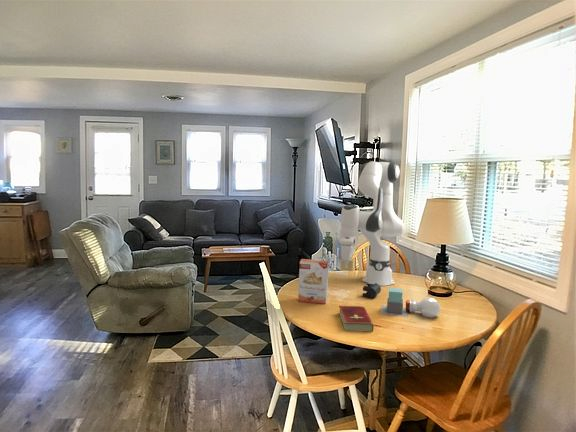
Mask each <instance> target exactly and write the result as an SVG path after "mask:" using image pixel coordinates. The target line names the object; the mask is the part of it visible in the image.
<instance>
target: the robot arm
mask: <svg viewBox="0 0 576 432" xmlns="http://www.w3.org/2000/svg"><path fill="white" fill-rule="evenodd" d="M399 176H400V166H399V164H397V163H396V162H391V161H390V162H387V161H379V162H378V161H373V160H372V161H369V162H366V163H363V164H362V165H361V167H360V169H359V178H358V181H357V182H358V183H357V188H358V190H359V191H360V193H362V194H363V195H364V196H365V197H368V198H371V199H373V200H372V201H373V202H372V206H373V210H371V211H365V210H359V206H358V205H356V204H345V205H343V207H342V209H341V213H340V231H339V245H340V257H341V259H342V261H344V264H345V268H348V267H349V260H350V258H352V256H353V255H354V253H355V246H356V244H357V243H359V231H360V233H361V234H362V235H364V237H366V239H367V241H368V243H369V247H370V257H369V259H368V261H369V263H368V266H367V267H366V268H365V269H366V270H365V277H363V279H362V280H361V281H362V282H364V283H366V284H368V283H369V284H375V283H377V284H379V285H380V287H383V286H385V287H386V286H390V285H395V284H396V282H395V280H394V278H393V270H392V268H391V267H390V266H391V259H390V254H391V248H390V247H391V246H390V245H389V244H388V243H386V242H385V241H382V240H381V237H397V236H401V235H402V234H403V233H404V231H405V224H404V222H403V220H402V219H401V218H400V217H398V215H397V214H396V212H395V210H394V201H393V199H394V183H395V182H396V181H397V180H398V178H400V177H399ZM341 259H340V260H341Z"/></svg>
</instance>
